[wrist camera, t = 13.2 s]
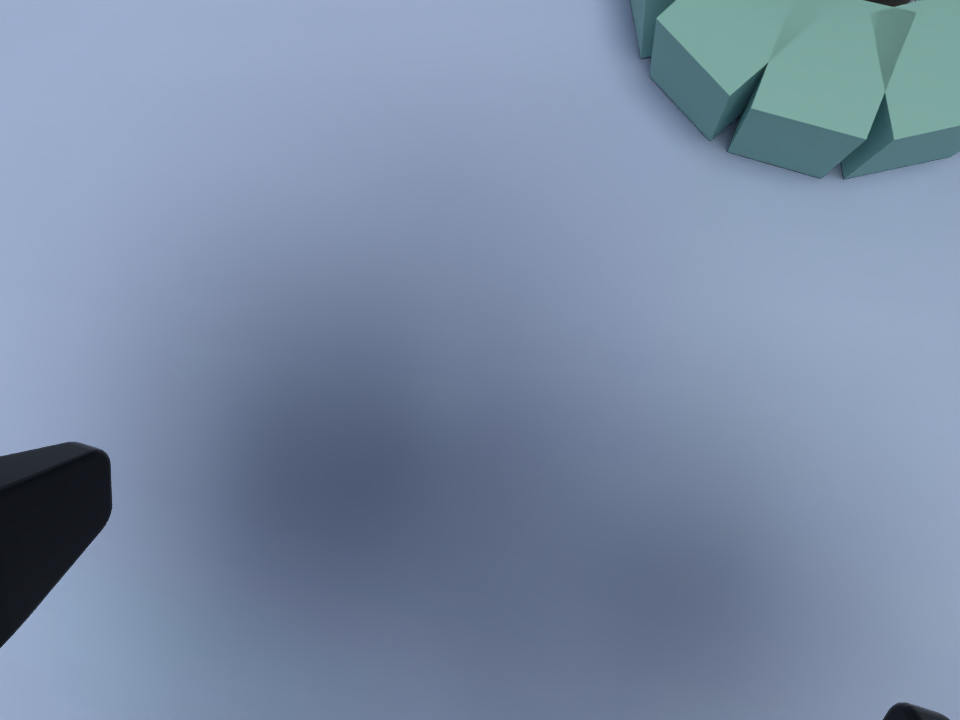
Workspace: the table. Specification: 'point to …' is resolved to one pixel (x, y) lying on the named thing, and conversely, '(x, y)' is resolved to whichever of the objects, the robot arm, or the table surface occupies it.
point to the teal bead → (812, 78)
